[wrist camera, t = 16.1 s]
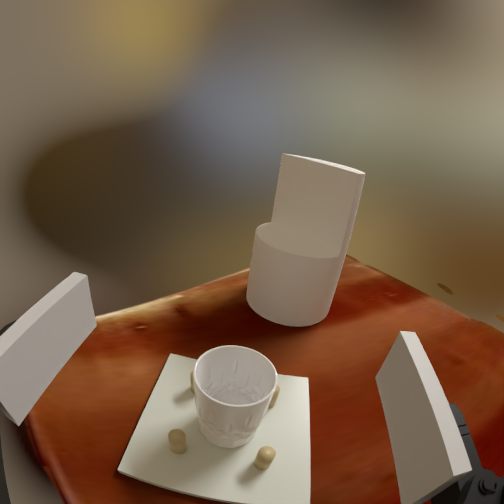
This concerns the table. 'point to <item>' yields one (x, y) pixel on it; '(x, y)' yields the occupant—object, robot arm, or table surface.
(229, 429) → the white cup
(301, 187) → the cylinder
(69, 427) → the table surface
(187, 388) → the standoff plate
